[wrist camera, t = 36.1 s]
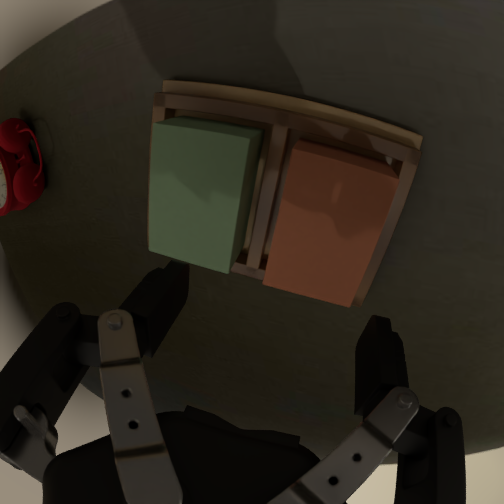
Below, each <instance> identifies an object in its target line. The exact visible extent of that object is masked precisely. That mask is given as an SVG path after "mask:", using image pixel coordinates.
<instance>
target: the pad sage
mask: <svg viewBox="0 0 504 504" xmlns="http://www.w3.org/2000/svg"><path fill="white" fill-rule="evenodd" d="M264 133H265V129H261V128H256V127H251V126H245V125H240V124H235V123H229V122H223V121H217V120H211V119H204V118H197V117H190V116H183V115H182V116H178V117H174V118H170V119H166V120H163V121H159V122H155V123H153V130H152V144H151V161H150V185H149V250H150V251H152V252H156V253H159V254H162V255H166V256H169V257H172V258H175V259H179V260H182V261H185V262H189V263H192V264H195V265H199V266H202V267H206V268H209V269H212V270H216V271H219V272H223V273H226V274H229V272H230V270H231V268H232V267H233V265H234V263H235V261H236V259H237V257H238V256H239V254H240V252H241V250H242V248H243V246H244V243H245V237H246V231H247V226H248V220H249V215H250V209H251V204H252V198H253V193H254V187H255V182H256V176H257V171H258V165H259V160H260V154H261V149H262V144H263V138H264Z"/></svg>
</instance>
